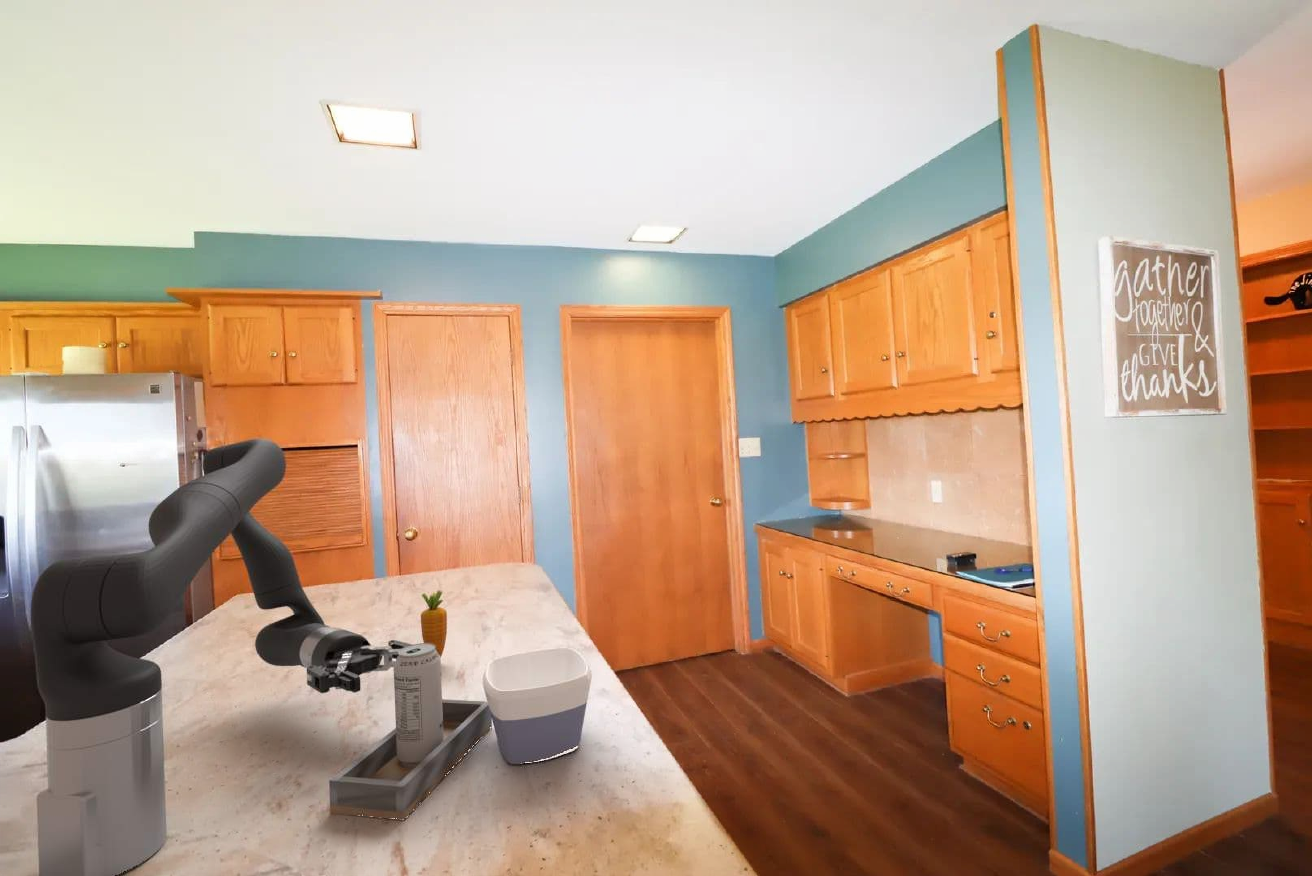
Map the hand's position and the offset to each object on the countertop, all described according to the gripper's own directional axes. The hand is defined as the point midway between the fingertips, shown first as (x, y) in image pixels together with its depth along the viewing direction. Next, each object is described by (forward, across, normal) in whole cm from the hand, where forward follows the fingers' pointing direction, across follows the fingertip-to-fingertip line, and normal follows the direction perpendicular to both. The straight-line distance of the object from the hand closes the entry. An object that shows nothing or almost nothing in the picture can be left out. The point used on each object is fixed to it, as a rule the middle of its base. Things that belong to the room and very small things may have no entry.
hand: (387, 674), depth 84 cm
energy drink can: (+8, 0, +10) cm, 13 cm away
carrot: (-24, +23, +11) cm, 35 cm away
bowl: (+18, +13, +11) cm, 25 cm away
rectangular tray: (+8, 0, +11) cm, 14 cm away
